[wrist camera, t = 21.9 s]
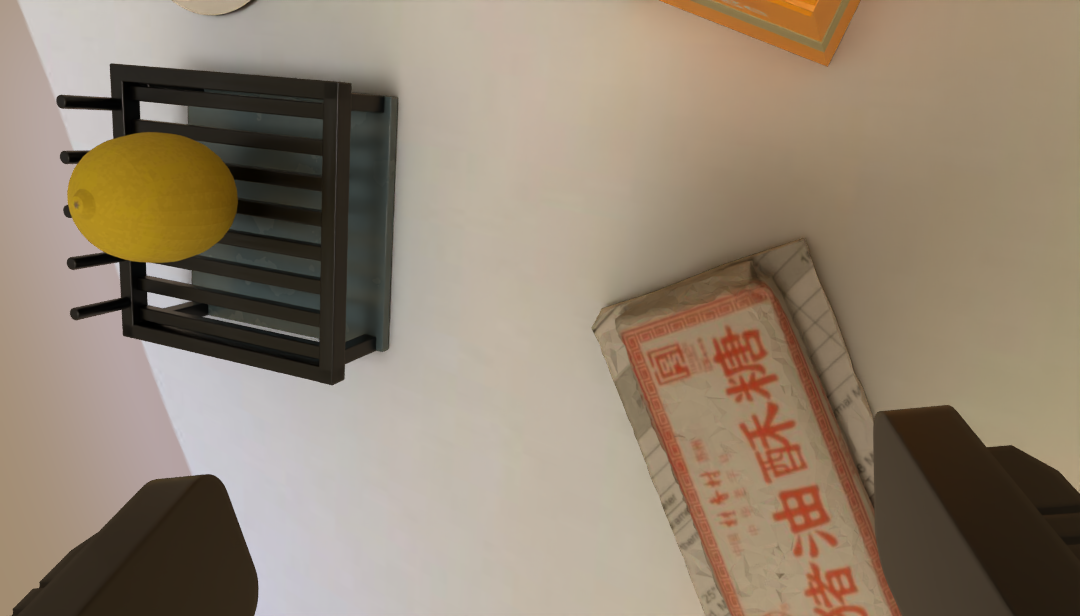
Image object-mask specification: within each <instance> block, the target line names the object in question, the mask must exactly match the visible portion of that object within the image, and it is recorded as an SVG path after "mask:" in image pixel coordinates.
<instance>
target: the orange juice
mask: <svg viewBox="0 0 1080 616" xmlns="http://www.w3.org/2000/svg"><path fill="white" fill-rule="evenodd" d="M660 1H662V2H665V3H667V4H670V5H672V6H675V7H677V8H680V9H683V10H685V11H688V12H690V13H693V14H695V15H698V16H700V17H703V18H705V19H708V20H710V21H713V22H716V23H718V24H721V25H723V26H726V27H728V28H731V29H733V30H736V31H738V32H741V33H744V34H746V35H749V36H751V37H754V38H756V39H759V40H761V41H764V42H766V43H769V44H771V45H774V46H777V47H779V48H782V49H784V50H787V51H789V52H792V53H794V54H797V55H799V56H802V57H805V58H807V59H810V60H812V61H815V62H817V63H820V64H822V65H825V66H827V67H828V65H829V63H830V61H831V59H832V57H833V55H834V53H835V51H836V49H837V47H838V45H839V43H840V41H841V39H842V37H843V35H844V33H845V31H846V29H847V27H848V25H849V23H850V21H851V19H852V17H853V15H854V13H855V11H856V9H857V7H858V5H859V3H860V1H861V0H660Z"/></svg>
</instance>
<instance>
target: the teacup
mask: <svg viewBox="0 0 1080 616" xmlns="http://www.w3.org/2000/svg"><path fill="white" fill-rule="evenodd" d="M172 1H173V2H175V3H176V4H178V5H179V6H181V7H182V8H184V9H186V10H189V11H191V12H194V13H197V14H203V15H220V14H225V13H229V12H231V11H234V10H236V9H238V8H240V7H242V6H243V5H245V4H246V3H248V2H249V1H250V0H172Z"/></svg>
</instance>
